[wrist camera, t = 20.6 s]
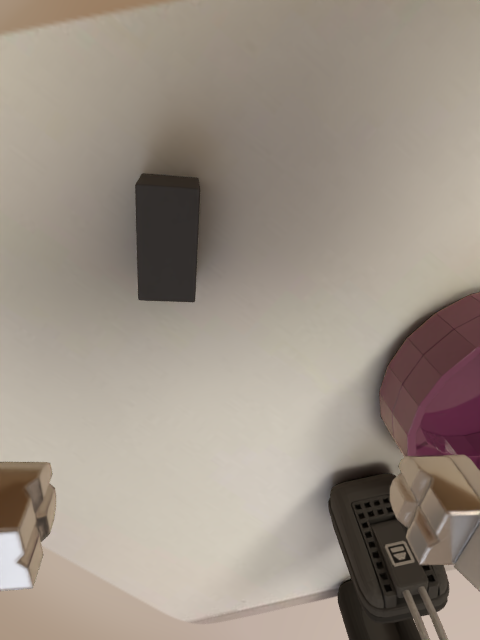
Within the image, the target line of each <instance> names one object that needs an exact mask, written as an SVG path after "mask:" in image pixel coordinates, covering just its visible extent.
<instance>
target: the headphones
mask: <svg viewBox="0 0 480 640" xmlns="http://www.w3.org/2000/svg"><path fill="white" fill-rule="evenodd" d="M395 477H396V476H395V475H393V474H380V475H375V476H371V477H366V478H362V479H357V480H352V481H348V482H343V483H340V484H337V485H336V486H334V487H333V488H332V490H331V494H330V499H329V501H328V503H329V512H330V515H331V519H332V523H333V527H334V530H335V533H336V536H337V539H338V541H339V544H340V547H341V550H342V553H343V556H344V559H345V562H346V565H347V567H348V570H349V573H350V576H351V579H352V580H351V581H348V582H345V583H344V584H342V585H341V586H340V588H339V592H338V604H339V607H340V611H341V614H342V617H343V621H344V624H345V627H346V630H347V634H348V637H349V640H430V638H429V636H428V634H427V631H426V628H425V626H424V623H423V621H422V618H421V616H424V615H430V617H431V619H432V622H433V624H434V627H435V629H436V632H437V634H438V636H439V639H440V640H448V638H447V636H446V633H445V631H444V629H443V626H442V624H441V621H440V619H439V617H438V615H437V612H438V611H440V610H441V609H442V608H444V606H445V605H446V603H447V597H448V594H449V582H448V579H447V574H446V571H445V568H444V565H419V563H418V561H417V559H416V557H415V555H414V553H413V551H412V549H411V547H410V545H409V543H408V541H407V539H406V533H407V527H405V526H404V525H403V524H402V523H401V522H399V521H398V520H397V518H396V516H395V514H394V512H393V510H392V506H391V503H390V486H391V484H392V481H393V479H394V478H395ZM413 619H414V620H413ZM414 621H415V622H414ZM415 624H416V625H415ZM416 626H417V627H416ZM418 631H419V632H418Z"/></svg>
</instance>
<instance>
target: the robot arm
mask: <svg viewBox="0 0 480 640" xmlns="http://www.w3.org/2000/svg"><path fill="white" fill-rule="evenodd" d="M398 467H399V469H400V471H401V474H399V475H398V476H397V477H395V478H394V479H393V481H392V484H391V486H390V503H391V506H392V510H393V512H394V514H395V516H396V518H397V520H398V521H399V522H401V523H402V524H403V525H404V526H405V527H407V533H406V539H407V541H408V543H409V545H410V547H411V549H412V551H413V553H414V555H415V557H416V559H417V561H418V563H419V565H452V564H455V565H454V567H455V568H456V569H457V570H458V571H459V572H460V573H461V574H462V575H463V576H464V577H465V578H466V579H467V580H468V581H469V582H470V583H471V584H472V585H474V587H475V588H477V589H478V590H479V591H480V471H479V469H478V468H477V467H476V465H475V464H474V463H473V461H472V460H471V459H470V458H469V457H467V456H466V455H419V456H405V457H404V458H403V459H401V462H400V464H399V466H398ZM51 477H52V469H51V465H50V463H48V462H0V591H7V590H19V589H30V588H33V586H34V583H35V580H36V577H37V574H38V570H39V567H40V564H41V561H42V558H43V550H42V545H41V542H42V541H43V540H44V539H45V538H46V537H47V536H48V535H49V534H50V532H51V528H52V525H53V521H54V516H55V510H56V491H55V487H53V486H52V485H51V484H50V483H49V482H50V479H51Z"/></svg>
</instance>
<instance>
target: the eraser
mask: <svg viewBox="0 0 480 640" xmlns="http://www.w3.org/2000/svg"><path fill="white" fill-rule="evenodd" d="M135 193H136V231H137V269H138V299H139V300H146V301H176V302H195V291H196V269H197V247H198V225H199V204H200V186H199V180H198V178H192V177H179V176H166V175H153V174H141V176H140V178H139V180H138V181H137V183H136V185H135Z"/></svg>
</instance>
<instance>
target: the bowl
mask: <svg viewBox="0 0 480 640" xmlns="http://www.w3.org/2000/svg"><path fill="white" fill-rule="evenodd" d="M379 392H380V393H379V396H380V412H381V418H382V420H383V422H384V423H385V425H386V427H387V429H388V431H389V432H390V434H391V436H392V437H393V439H394V441H395V442H396V444H397V446H398V447H399V449H400V451H401V452H402V454H403V456H404V457H405V456H419V455H466V456H467V457H469V458H470V459H471V460H472V461H473V463H474V464H475V465H476V467H477V468H478V469H479V471H480V292H478V293H474V294H470V295H468V296H466V297H464V298H462V299H460V300H459V301H457V302H455V303H453V304H451V305H449V306H447V307H445V308H444V309H442V310H440V311H438V312H436V314H434V315H432V316H431V317H430V318H429V319H428V320H427V321H426V322H424V323H423V324H422V325H421V326H420V327H419V328H418V329H416V330H415V331H414V332H413V333H412V334H411V335H410V336H408V338H406V340H405V341H404V343H403V344H402V345H401V347H400V348H399V350H398V351H397V353H396V354H395V356H394V357H393V358H392V360H391V361H390V363H389V364H388V366H387V370H386V373H385V376H384V379H383V382H382V385H381V388H380V391H379Z"/></svg>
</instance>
